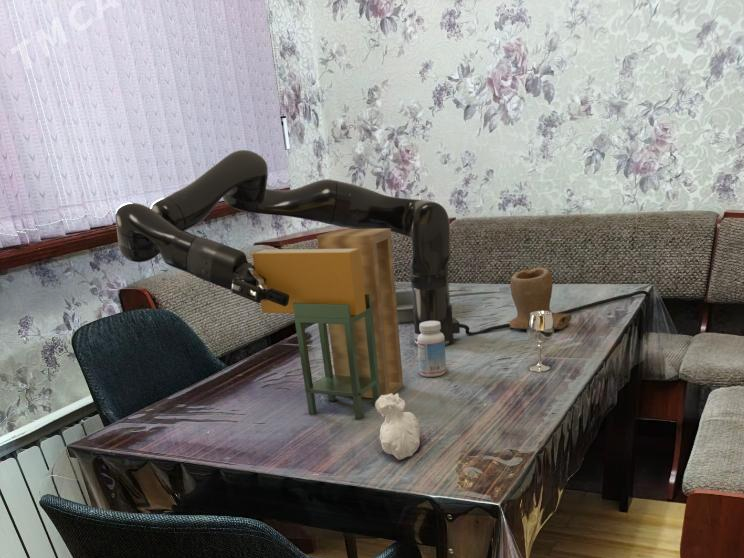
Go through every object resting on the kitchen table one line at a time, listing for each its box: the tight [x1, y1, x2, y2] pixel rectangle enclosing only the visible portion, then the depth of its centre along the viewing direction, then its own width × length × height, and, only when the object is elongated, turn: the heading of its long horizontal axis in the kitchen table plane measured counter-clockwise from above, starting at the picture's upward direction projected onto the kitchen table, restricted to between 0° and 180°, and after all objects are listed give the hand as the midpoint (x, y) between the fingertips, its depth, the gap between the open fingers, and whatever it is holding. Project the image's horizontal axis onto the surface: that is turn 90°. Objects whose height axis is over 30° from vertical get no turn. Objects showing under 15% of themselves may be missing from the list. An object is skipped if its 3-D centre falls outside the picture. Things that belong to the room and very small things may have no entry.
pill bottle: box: [417, 321, 447, 378], centre depth 157 cm, size 6×6×11 cm
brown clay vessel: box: [508, 267, 572, 330], centre depth 181 cm, size 15×12×15 cm
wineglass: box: [526, 310, 555, 372], centre depth 154 cm, size 6×6×12 cm
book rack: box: [293, 294, 381, 420], centre depth 139 cm, size 12×9×22 cm
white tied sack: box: [374, 392, 421, 461], centre depth 122 cm, size 12×8×11 cm
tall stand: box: [316, 228, 404, 399], centre depth 145 cm, size 12×8×32 cm, turn 64°
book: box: [251, 248, 366, 315], centre depth 134 cm, size 21×4×11 cm, turn 66°
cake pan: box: [396, 289, 414, 324], centre depth 209 cm, size 25×25×4 cm
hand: (295, 293), depth 136 cm, fingers open, 8 cm apart
